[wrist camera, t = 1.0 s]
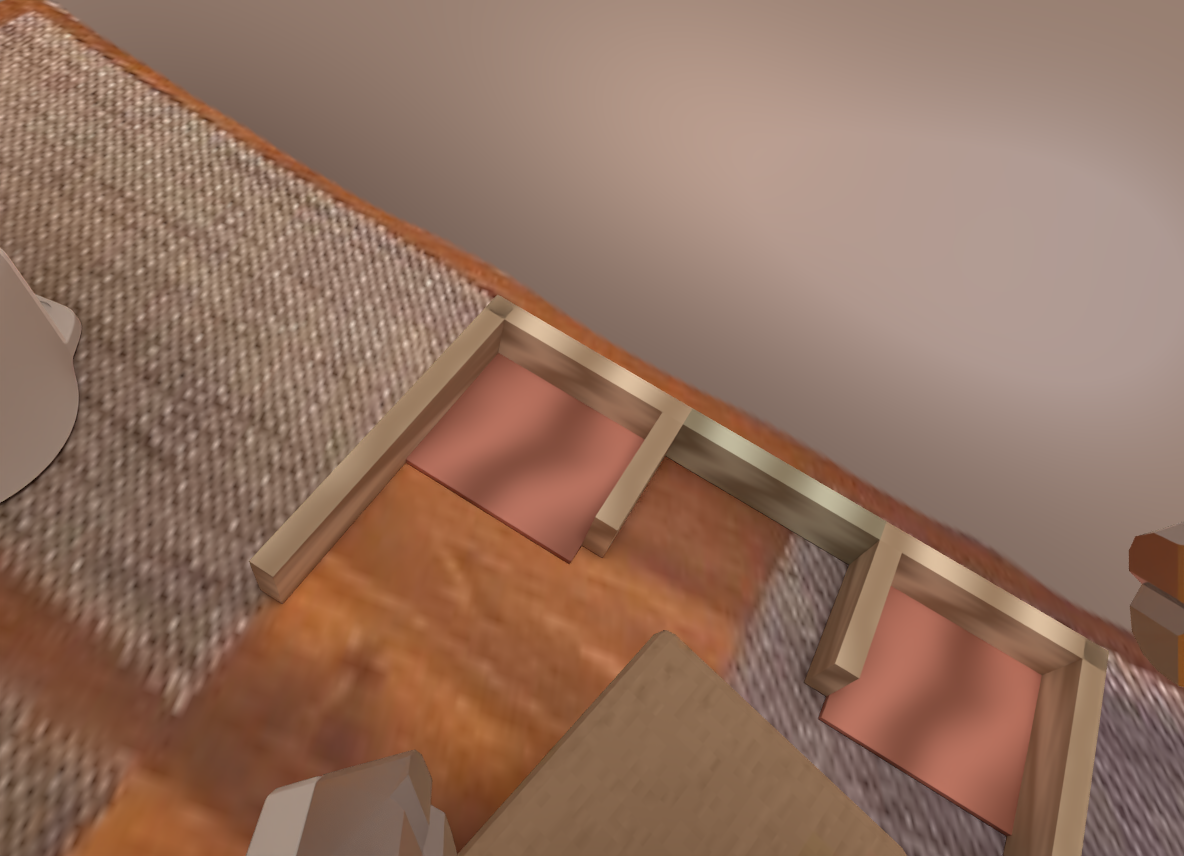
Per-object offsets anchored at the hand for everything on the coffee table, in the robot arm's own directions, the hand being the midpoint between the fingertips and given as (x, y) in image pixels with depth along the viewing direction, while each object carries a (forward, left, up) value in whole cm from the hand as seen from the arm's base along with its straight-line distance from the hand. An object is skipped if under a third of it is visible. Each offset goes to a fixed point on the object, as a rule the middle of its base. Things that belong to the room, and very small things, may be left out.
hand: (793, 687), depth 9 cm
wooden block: (+4, +1, -36) cm, 36 cm away
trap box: (+4, +17, -36) cm, 40 cm away
